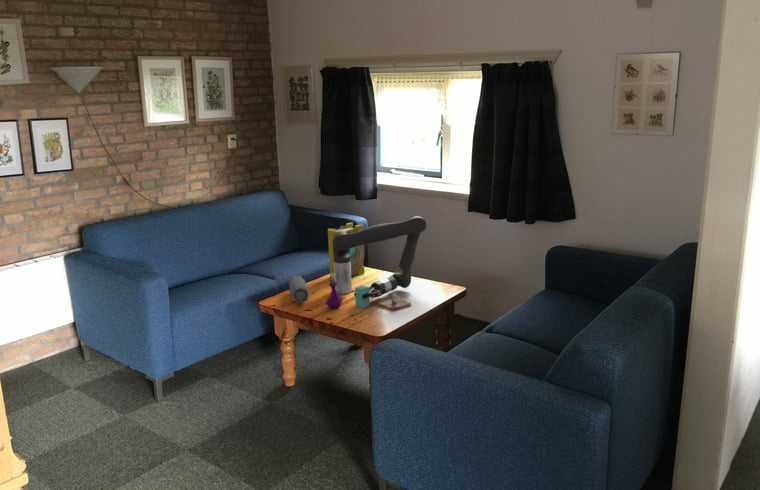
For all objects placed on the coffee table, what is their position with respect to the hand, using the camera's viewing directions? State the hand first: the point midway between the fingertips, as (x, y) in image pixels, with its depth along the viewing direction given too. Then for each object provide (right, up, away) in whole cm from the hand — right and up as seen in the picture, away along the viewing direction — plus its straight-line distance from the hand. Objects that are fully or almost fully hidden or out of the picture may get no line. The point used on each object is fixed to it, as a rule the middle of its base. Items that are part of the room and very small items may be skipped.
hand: (358, 295), depth 333 cm
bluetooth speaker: (-32, -3, +18) cm, 37 cm away
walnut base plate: (+18, -5, +2) cm, 19 cm away
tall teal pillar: (+2, -5, +3) cm, 7 cm away
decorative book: (-9, +8, +57) cm, 58 cm away
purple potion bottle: (-12, -6, +2) cm, 14 cm away
